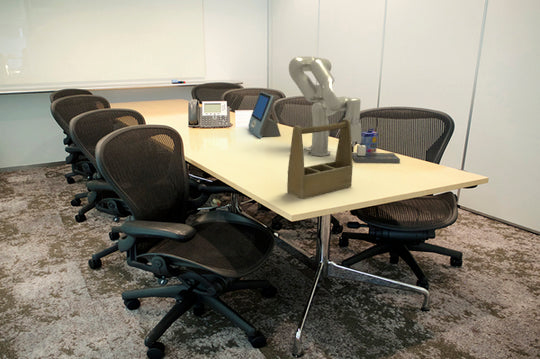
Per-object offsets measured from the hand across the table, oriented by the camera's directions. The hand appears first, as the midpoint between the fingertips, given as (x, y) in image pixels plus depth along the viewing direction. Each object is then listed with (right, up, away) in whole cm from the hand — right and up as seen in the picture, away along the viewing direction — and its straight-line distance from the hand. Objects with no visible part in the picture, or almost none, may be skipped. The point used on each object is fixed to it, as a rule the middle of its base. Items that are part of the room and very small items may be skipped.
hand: (350, 153), depth 233 cm
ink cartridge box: (+14, +2, +20) cm, 25 cm away
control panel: (+14, -4, +1) cm, 14 cm away
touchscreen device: (-50, +19, +74) cm, 92 cm away
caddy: (-23, -19, -50) cm, 58 cm away
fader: (+6, -1, 0) cm, 6 cm away
